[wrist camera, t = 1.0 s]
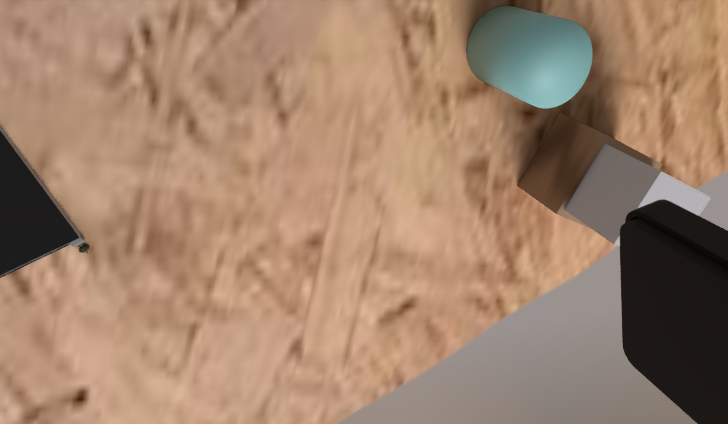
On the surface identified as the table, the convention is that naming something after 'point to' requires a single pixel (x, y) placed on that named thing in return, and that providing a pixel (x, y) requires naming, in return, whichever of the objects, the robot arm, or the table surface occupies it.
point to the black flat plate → (28, 214)
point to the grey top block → (625, 192)
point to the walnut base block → (568, 163)
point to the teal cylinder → (530, 55)
